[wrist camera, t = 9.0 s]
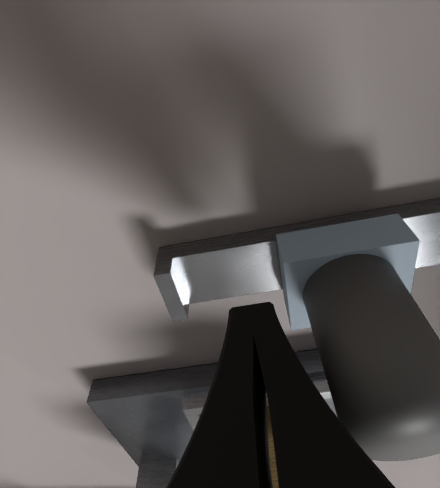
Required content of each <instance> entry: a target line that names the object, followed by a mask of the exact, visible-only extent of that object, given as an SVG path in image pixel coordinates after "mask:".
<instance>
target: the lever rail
mask: <svg viewBox="0 0 440 488" xmlns="http://www.w3.org/2000/svg"><path fill="white" fill-rule="evenodd" d="M392 214H399V215H400V216H401V218H402V219H403V220H404V221H405V223H406V224H407V225H408V226H409V228H410V229H411V230H412V231H413V233H414V234H415V235H416V236H417V238H418V239H419V240H420V243H419V249H418V255H417V260H416V266H415V268H420V267H426V266H432V265H439V264H440V198H439V199H433V200H428V201H422V202H416V203H411V204H405V205H399V206H393V207H388V208H382V209H376V210H371V211H365V212H359V213H354V214H348V215H342V216H336V217H331V218H325V219H319V220H314V221H308V222H302V223H296V224H291V225H285V226H279V227H274V228H268V229H262V230H257V231H251V232H245V233H239V234H234V235H228V236H222V237H217V238H211V239H205V240H200V241H194V242H188V243H182V244H177V245H171V246H165V247H160V248H159V250H158V256H157V261H156V266H155V271H154V278H155V280H156V283H157V285H158V287H159V290H160V292H161V295H162V297H163V299H164V302H165V304H166V306H167V309H168V311H169V314H170V316H171V318H172V321H179V320H186V319H188V312H189V304H191V303H197V302H203V301H210V300H216V299H222V298H229V297H235V296H242V295H248V294H254V293H261V292H267V291H273V290H280V289H283V285H282V277H281V269H280V261H279V254H278V246H277V238H276V235H277V234H282V233H288V232H294V231H300V230H306V229H311V228H317V227H323V226H329V225H334V224H340V223H346V222H352V221H357V220H363V219H369V218H375V217H381V216H386V215H392Z"/></svg>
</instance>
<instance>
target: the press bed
mask: <svg viewBox="0 0 440 488" xmlns="http://www.w3.org/2000/svg"><path fill="white" fill-rule="evenodd" d="M295 354H296V356H297V357H298V359H299V361H300V363H301V364H302V366H303V368H304V369H305V371H306V372H307V374H308V376H309V377H310V379H311V380H312V382H313V383H314V385H315V386H316V388H317V389H318V391H319V392H320V394H321V395H322V397H323V398H324V400H325V401H326V402H327V404H328V405H329V407H330V408H331V409H332V411H333V412H334V413H335V415H336V416H337V414H336V410H335V407H334V403H333V400H332V397H331V393H330V390H329V386H328V383H327V379H326V376H325V373H324V369H323V366H322V362H321V359H320V355H319V352H318V349H316V350H309V351H302V352H295ZM217 366H218V363H215V364H208V365H201V366H194V367H187V368H179V369H172V370H165V371H158V372H150V373H143V374H136V375H129V376H122V377H114V378H107V379H100V380H93V382H92V385H91V389H90V392H89V396H88V399H87V404H88V405H89V406H90V407H91V408H92V410H93V411H94V412H95V413H96V415H97V416H98V417H99V418H100V420H101V421H102V422H103V423H104V424H105V426H106V427H107V428H108V429H109V431H110V432H111V433H112V434H113V436H114V437H115V438H116V439H117V440H118V442H119V443H120V444H121V445H122V447H123V448H124V449H125V450H126V452H127V453H128V454H129V455H130V456H131V458H132V459H133V460H134V461H135V463H136V464H137V465H138V466H139V470H138V477H137V484H136V488H167V486H168V484H169V482H170V480H171V478H172V476H173V474H174V472H175V470H176V468H177V466H178V464H179V462H180V460H181V458H182V456H183V453H184V451H185V449H186V447H187V445H188V443H189V441H190V438H191V436H192V434H193V432H194V429H195V427H196V425H197V422H198V420H199V417H200V415H201V412H202V410H203V407H204V404H205V402H206V399H207V396H208V393H209V390H210V387H211V385H212V382H213V379H214V376H215V373H216V369H217ZM266 403H267V406H269V403H268V398H267V393H266ZM337 418H338V417H337Z"/></svg>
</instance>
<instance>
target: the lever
mask: <svg viewBox="0 0 440 488" xmlns="http://www.w3.org/2000/svg"><path fill="white" fill-rule="evenodd" d="M276 238H277V246H278V254H279V261H280V269H281V277H282V285H283V293H284V300H285V305H286V309H287V313H288V318H289V322H290V326H291V330H297V329H304V328H310V327H311V328H312V331H313V335H314V338H315V342H316V345H317V349H318V352H319V355H320V359H321V362H322V366H323V369H324V373H325V376H326V379H327V383H328V386H329V390H330V393H331V397H332V400H333V403H334V407H335V410H336V414H337V417H338V419H339V420H340V422H341V423H342V424H343V425H344V427H345V428H346V429H347V431H348V432H349V433H350V434H351V436H352V437H353V438H354V440H355V441H356V442H357V443H358V445H359V446H360V447H361V448H362V449H363V451H364V452H365V453H366V454H367V455H368V456H369V458H370V459H371V460H378V461H404V460H412V459H418V458H423V457H428V456H432V455H435V454H439V453H440V340H439V338H438V336H437V335H436V333H435V332H434V330H433V329H432V327H431V325H430V324H429V322H428V321H427V319H426V318H425V316H424V314H423V313H422V311H421V310H420V308H419V307H418V305H417V304H416V302H415V300H414V299H413V297H412V296H411V288H412V283H413V277H414V272H415V266H416V260H417V255H418V249H419V243H420V240H419V239H418V238H417V236H416V235H415V234H414V233H413V231H412V230H411V229H410V228H409V226H408V225H407V224H406V223H405V221H404V220H403V219H402V218H401V216H400V215H399V214H392V215H386V216H381V217H375V218H369V219H363V220H357V221H352V222H346V223H340V224H334V225H329V226H323V227H317V228H311V229H306V230H300V231H294V232H288V233H282V234H277V235H276Z"/></svg>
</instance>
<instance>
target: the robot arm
mask: <svg viewBox="0 0 440 488" xmlns="http://www.w3.org/2000/svg"><path fill="white" fill-rule="evenodd" d="M266 393H267V398H268V403H269V411H270V419H271V427H272V435H273V443H274V451H275V459H276V467H277V476H278V484H279V488H395V487H394V486H393V485H392V483H391V482H390V481H389V480H388V479H387V478H386V476H385V475H384V474H383V473H382V472H381V471H380V469H379V468H378V467H377V466H376V465H375V464H374V462H373V461H372V460H371V459H370V458H369V456H368V455H367V454H366V453H365V452H364V451H363V449H362V448H361V447H360V446H359V445H358V443H357V442H356V441H355V440H354V438H353V437H352V436H351V434H350V433H349V432H348V431H347V429H346V428H345V427H344V425H343V424H342V423H341V422H340V420H339V419H338V418H337V416H336V415H335V413H334V412H333V411H332V409H331V408H330V407H329V405H328V404H327V402H326V401H325V400H324V398H323V397H322V395H321V394H320V392H319V391H318V389H317V388H316V386H315V385H314V383H313V382H312V380H311V379H310V377H309V376H308V374H307V372H306V371H305V369H304V368H303V366H302V364H301V363H300V361H299V359H298V357H297V356H296V354H295V352H294V350H293V349H292V347H291V345H290V343H289V341H288V339H287V337H286V335H285V333H284V331H283V329H282V327H281V325H280V323H279V320H278V318H277V315H276V312H275V309H274V305H273V304H272V303H270V302H265V303H259V304H252V305H246V306H239V307H233V308H231V309H230V310H229V318H228V324H227V330H226V335H225V339H224V344H223V348H222V351H221V355H220V359H219V362H218V366H217V369H216V373H215V376H214V379H213V382H212V385H211V387H210V390H209V393H208V396H207V399H206V402H205V404H204V407H203V410H202V412H201V415H200V417H199V420H198V422H197V425H196V427H195V429H194V432H193V434H192V436H191V438H190V441H189V443H188V445H187V447H186V449H185V451H184V453H183V456H182V458H181V460H180V462H179V464H178V466H177V468H176V470H175V472H174V474H173V476H172V478H171V480H170V482H169V484H168V486H167V488H273V483H272V476H271V468H270V457H269V441H268V422H267V403H266Z"/></svg>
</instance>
